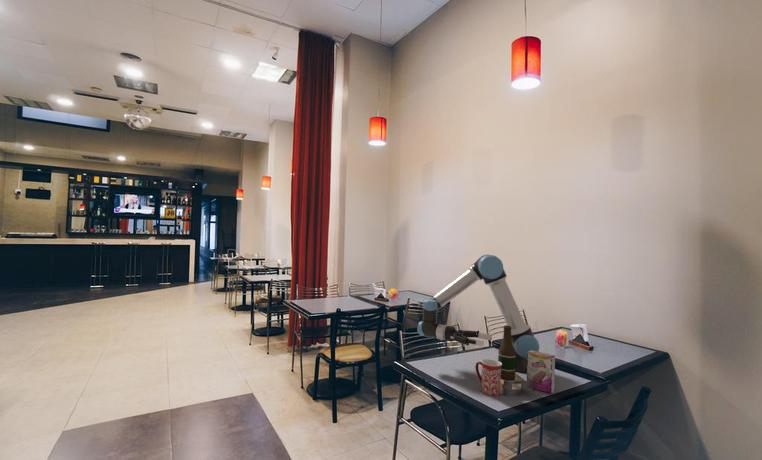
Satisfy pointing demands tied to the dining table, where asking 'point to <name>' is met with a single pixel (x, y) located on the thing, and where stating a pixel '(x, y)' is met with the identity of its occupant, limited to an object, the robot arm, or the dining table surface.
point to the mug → (490, 376)
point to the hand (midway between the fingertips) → (487, 340)
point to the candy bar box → (541, 370)
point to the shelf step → (516, 386)
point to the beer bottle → (507, 356)
